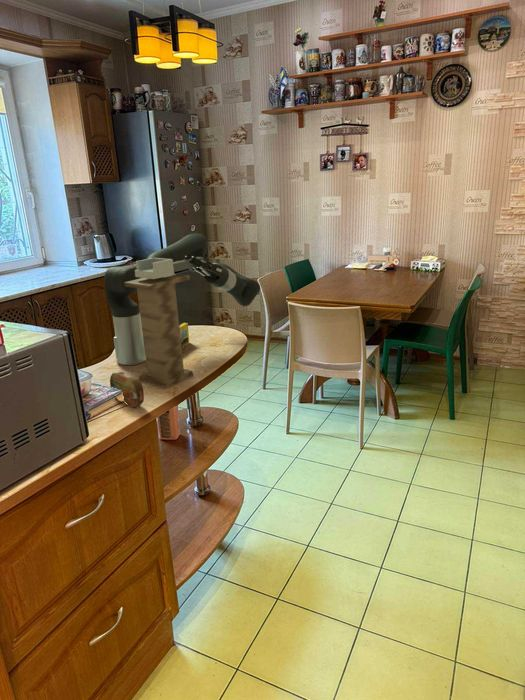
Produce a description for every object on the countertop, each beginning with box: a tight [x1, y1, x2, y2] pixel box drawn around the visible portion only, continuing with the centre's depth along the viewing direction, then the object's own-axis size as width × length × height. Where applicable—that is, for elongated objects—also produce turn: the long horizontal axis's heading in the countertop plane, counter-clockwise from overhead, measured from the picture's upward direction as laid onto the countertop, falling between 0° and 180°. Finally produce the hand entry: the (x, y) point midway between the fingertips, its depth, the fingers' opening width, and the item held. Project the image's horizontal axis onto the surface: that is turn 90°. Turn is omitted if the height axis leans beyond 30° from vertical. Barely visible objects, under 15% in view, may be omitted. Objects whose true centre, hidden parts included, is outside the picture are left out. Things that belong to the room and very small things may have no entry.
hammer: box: [135, 257, 203, 279], centre depth 152 cm, size 24×8×4 cm, turn 144°
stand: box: [125, 273, 194, 389], centre depth 153 cm, size 16×12×32 cm
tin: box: [109, 371, 145, 409], centre depth 141 cm, size 15×3×8 cm, turn 45°
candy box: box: [179, 322, 190, 349], centre depth 183 cm, size 16×2×8 cm, turn 161°
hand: (188, 259), depth 157 cm, fingers closed on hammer, 2 cm apart
